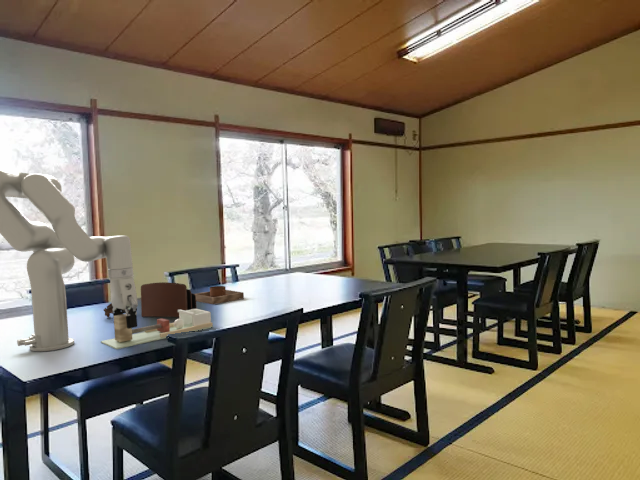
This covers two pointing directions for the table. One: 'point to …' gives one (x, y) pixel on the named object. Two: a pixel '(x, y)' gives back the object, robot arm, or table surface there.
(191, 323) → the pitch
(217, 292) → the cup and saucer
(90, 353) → the table surface
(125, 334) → the rod
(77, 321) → the table surface
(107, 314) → the brown jagged arch
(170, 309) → the letter holder
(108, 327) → the table surface
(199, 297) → the tray frame
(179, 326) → the ball
